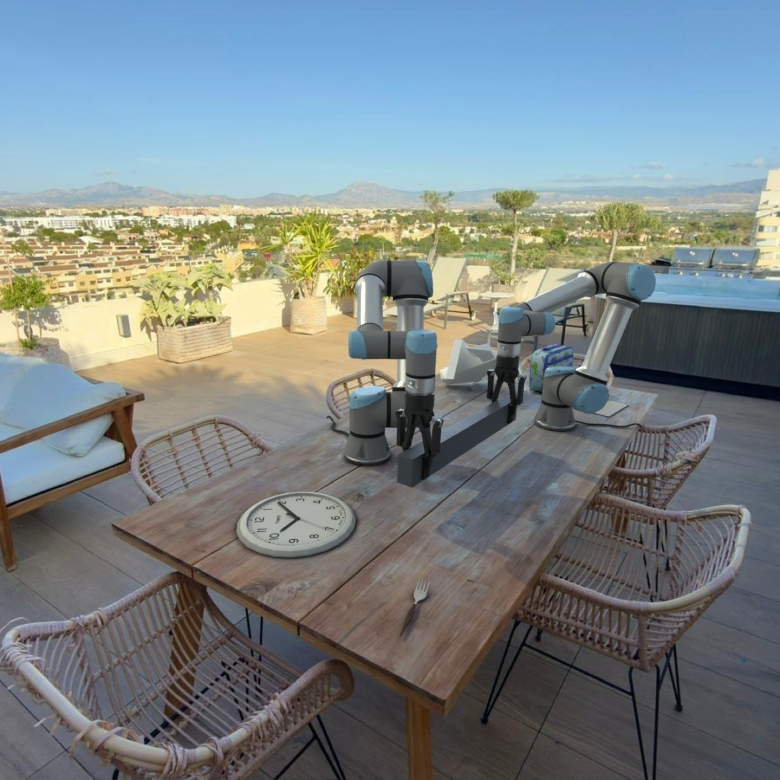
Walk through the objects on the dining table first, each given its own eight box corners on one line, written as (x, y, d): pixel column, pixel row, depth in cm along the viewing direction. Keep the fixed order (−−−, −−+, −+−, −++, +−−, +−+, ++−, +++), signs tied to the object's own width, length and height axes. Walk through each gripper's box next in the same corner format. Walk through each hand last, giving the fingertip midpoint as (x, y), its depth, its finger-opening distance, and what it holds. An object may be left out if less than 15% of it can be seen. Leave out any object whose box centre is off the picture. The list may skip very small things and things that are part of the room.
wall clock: (357, 549, 121) (224, 553, 118) (357, 555, 121) (224, 559, 118) (354, 487, 149) (247, 489, 147) (354, 492, 150) (247, 495, 147)
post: (503, 416, 185) (505, 395, 183) (515, 419, 183) (517, 398, 180) (397, 482, 136) (397, 454, 134) (411, 487, 134) (412, 459, 131)
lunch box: (545, 397, 238) (550, 352, 231) (524, 391, 245) (529, 348, 239) (572, 386, 255) (578, 344, 249) (552, 381, 262) (557, 340, 256)
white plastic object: (461, 429, 252) (437, 405, 227) (444, 352, 274) (420, 323, 250) (535, 404, 240) (518, 377, 215) (510, 326, 262) (492, 293, 237)
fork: (393, 636, 97) (393, 627, 97) (418, 584, 112) (419, 576, 111) (406, 640, 96) (407, 631, 96) (430, 587, 111) (430, 579, 110)
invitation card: (608, 416, 214) (573, 407, 224) (608, 416, 214) (573, 408, 224) (628, 404, 229) (594, 396, 238) (628, 405, 229) (594, 397, 238)
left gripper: (382, 388, 134) (381, 470, 141) (442, 402, 124) (437, 490, 131) (400, 381, 140) (398, 461, 147) (458, 395, 130) (453, 479, 137)
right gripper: (478, 352, 174) (474, 418, 181) (529, 361, 164) (522, 430, 171) (488, 348, 180) (484, 412, 187) (538, 356, 170) (531, 423, 177)
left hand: (416, 474), depth 139 cm, fingers closed on post, 5 cm apart
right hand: (502, 420), depth 179 cm, fingers closed on post, 5 cm apart
